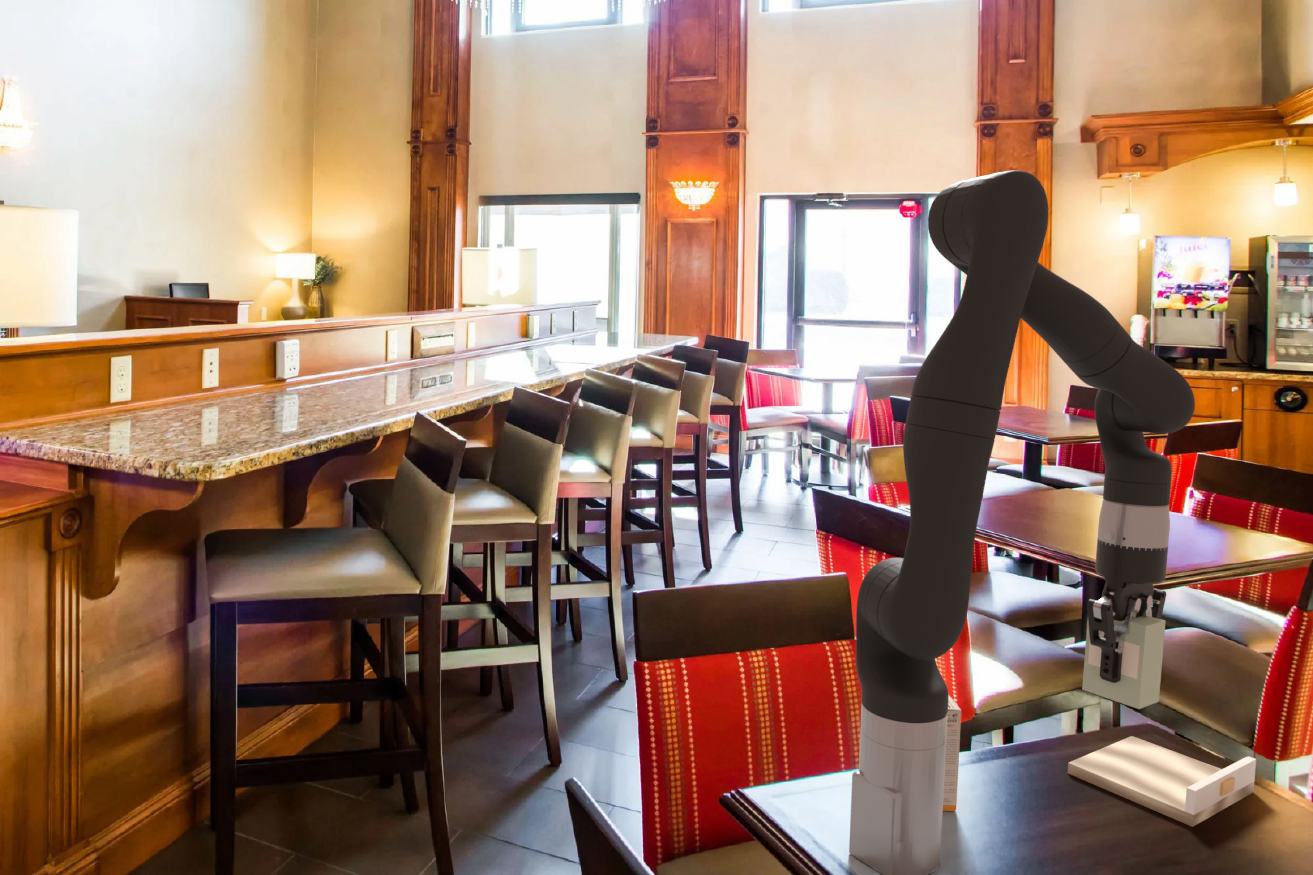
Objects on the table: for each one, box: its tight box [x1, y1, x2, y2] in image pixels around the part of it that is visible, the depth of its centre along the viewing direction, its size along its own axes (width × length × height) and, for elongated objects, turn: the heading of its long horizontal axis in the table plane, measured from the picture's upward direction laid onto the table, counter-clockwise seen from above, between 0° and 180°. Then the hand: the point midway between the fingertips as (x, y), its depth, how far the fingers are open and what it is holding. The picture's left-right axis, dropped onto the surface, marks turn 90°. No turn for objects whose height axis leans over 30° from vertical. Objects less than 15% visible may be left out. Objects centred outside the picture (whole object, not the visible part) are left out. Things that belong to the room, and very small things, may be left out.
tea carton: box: [1081, 616, 1167, 710], centre depth 108 cm, size 5×7×10 cm, turn 34°
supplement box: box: [943, 694, 962, 812], centre depth 113 cm, size 8×5×13 cm, turn 179°
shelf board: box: [1067, 735, 1257, 828], centre depth 117 cm, size 16×16×4 cm
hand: (1121, 676), depth 108 cm, fingers closed on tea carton, 4 cm apart
